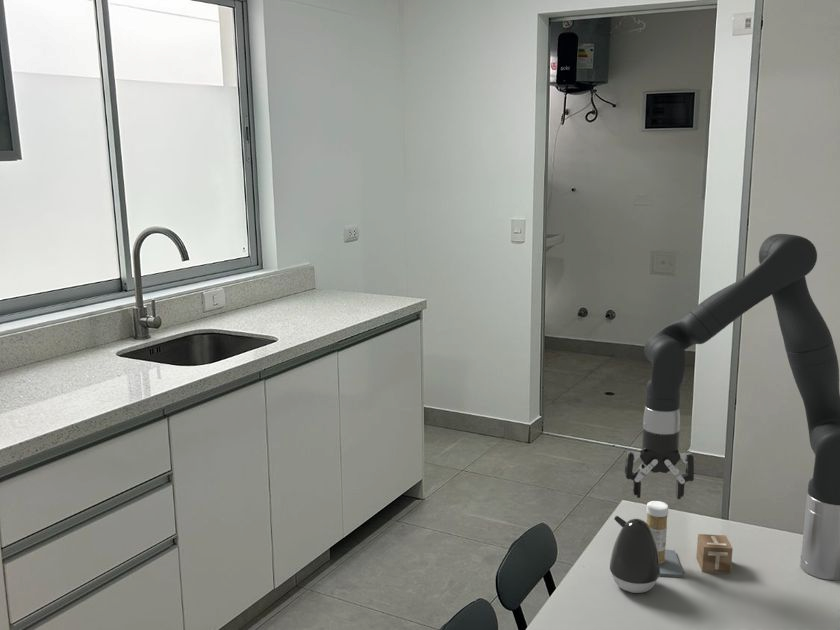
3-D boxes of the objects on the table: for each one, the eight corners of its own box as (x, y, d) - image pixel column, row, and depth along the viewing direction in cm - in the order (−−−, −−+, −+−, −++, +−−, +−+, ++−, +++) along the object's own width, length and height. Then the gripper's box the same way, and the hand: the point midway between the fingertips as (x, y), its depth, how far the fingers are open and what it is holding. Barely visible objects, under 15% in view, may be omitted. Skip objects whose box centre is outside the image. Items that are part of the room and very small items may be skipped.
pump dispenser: (624, 568, 180) (628, 504, 177) (667, 586, 173) (672, 519, 170) (598, 585, 173) (601, 519, 170) (642, 605, 166) (646, 536, 163)
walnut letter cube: (723, 559, 184) (725, 534, 183) (730, 574, 178) (732, 548, 177) (696, 558, 185) (698, 533, 183) (702, 572, 179) (704, 546, 177)
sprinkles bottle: (651, 553, 185) (655, 498, 183) (669, 561, 182) (672, 505, 179) (639, 560, 183) (642, 504, 180) (657, 568, 179) (660, 511, 176)
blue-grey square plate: (674, 552, 187) (674, 550, 187) (683, 577, 176) (683, 574, 176) (625, 549, 188) (625, 547, 188) (631, 574, 178) (631, 571, 178)
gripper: (691, 421, 178) (688, 491, 182) (625, 420, 180) (622, 489, 184) (699, 433, 171) (695, 505, 175) (629, 431, 173) (626, 503, 176)
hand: (657, 497), depth 179 cm, fingers open, 8 cm apart
